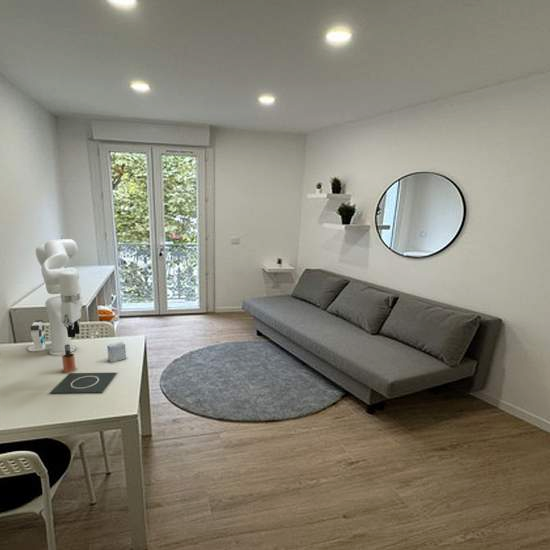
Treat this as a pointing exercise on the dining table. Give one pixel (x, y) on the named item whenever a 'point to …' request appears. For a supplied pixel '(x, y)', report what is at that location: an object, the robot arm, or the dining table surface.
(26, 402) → the dining table surface
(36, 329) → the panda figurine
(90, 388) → the slate board
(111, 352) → the medicine box
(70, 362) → the pen cup
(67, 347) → the cylinder
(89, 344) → the dining table surface
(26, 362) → the dining table surface
